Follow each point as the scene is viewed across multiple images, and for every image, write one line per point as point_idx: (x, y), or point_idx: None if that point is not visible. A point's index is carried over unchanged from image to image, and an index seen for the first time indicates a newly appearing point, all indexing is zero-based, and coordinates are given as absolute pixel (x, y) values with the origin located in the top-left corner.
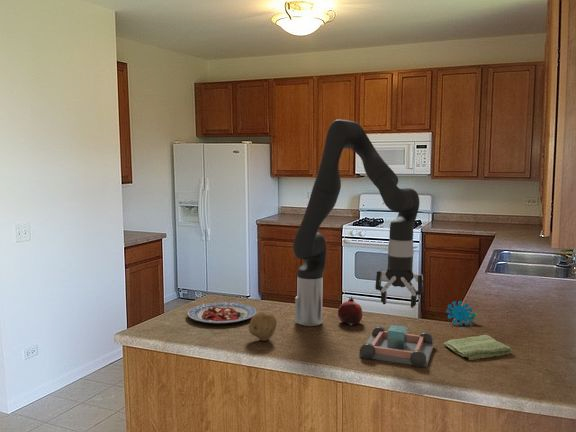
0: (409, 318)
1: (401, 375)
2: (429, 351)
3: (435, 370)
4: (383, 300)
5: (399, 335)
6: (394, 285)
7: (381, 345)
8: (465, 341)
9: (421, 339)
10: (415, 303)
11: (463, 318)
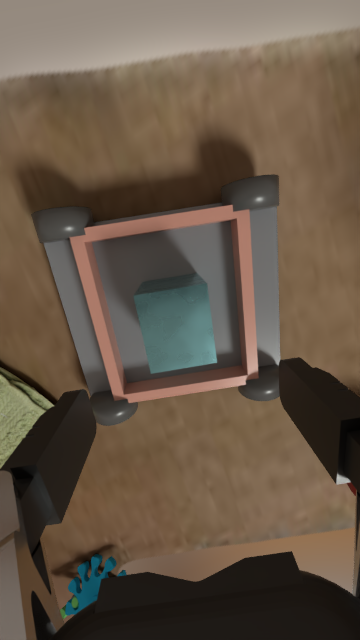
0: (224, 541)
1: (87, 103)
2: (73, 328)
3: (14, 218)
4: (308, 369)
5: (154, 288)
6: (282, 578)
7: (225, 298)
8: (5, 441)
9: (110, 372)
10: (37, 423)
11: (89, 584)
